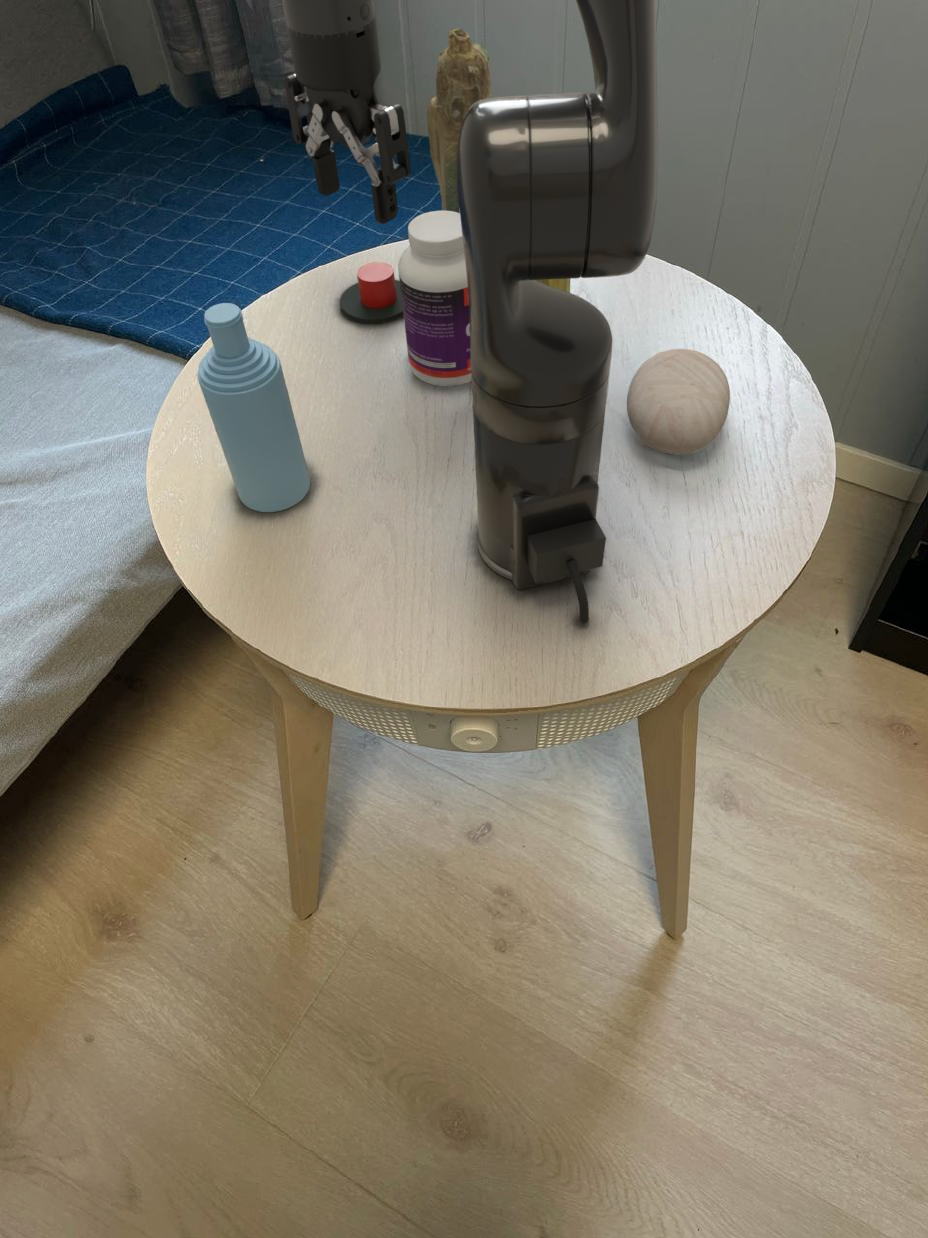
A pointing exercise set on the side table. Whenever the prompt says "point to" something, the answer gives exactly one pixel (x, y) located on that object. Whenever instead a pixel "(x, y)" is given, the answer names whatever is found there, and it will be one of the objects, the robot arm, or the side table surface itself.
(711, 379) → the decorative stone
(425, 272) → the pill bottle
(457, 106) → the statue
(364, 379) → the side table surface
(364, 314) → the coaster
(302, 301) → the side table surface
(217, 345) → the bottle
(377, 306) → the cap
